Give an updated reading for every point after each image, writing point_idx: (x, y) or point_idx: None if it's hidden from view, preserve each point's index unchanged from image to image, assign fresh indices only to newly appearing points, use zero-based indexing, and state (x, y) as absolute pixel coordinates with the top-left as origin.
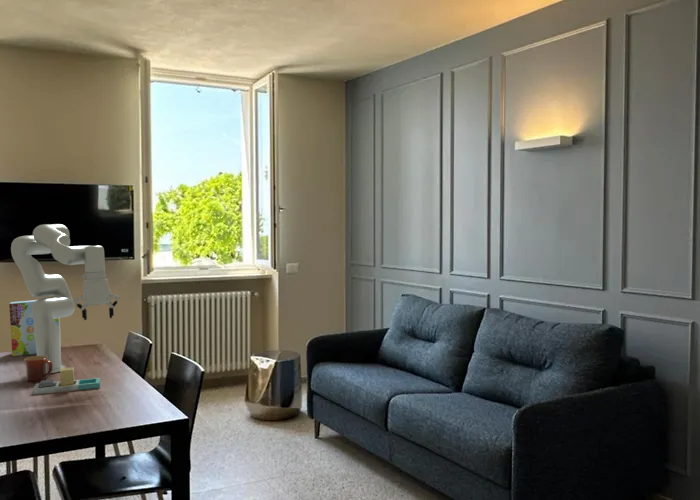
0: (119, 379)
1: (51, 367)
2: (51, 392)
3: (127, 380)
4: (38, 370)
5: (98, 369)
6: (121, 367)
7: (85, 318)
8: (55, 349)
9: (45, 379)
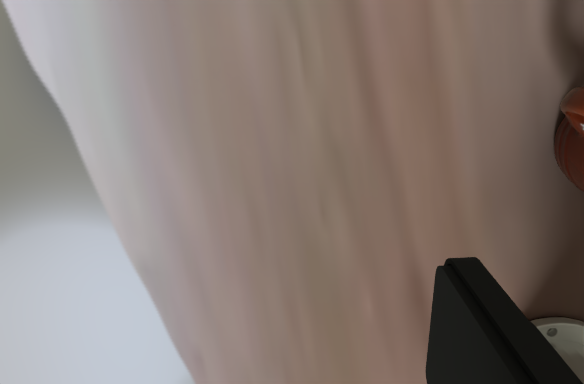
0: (153, 92)
1: (578, 95)
2: None
3: (98, 52)
4: None
5: (307, 343)
6: (196, 353)
7: (457, 276)
8: None
9: (567, 123)
